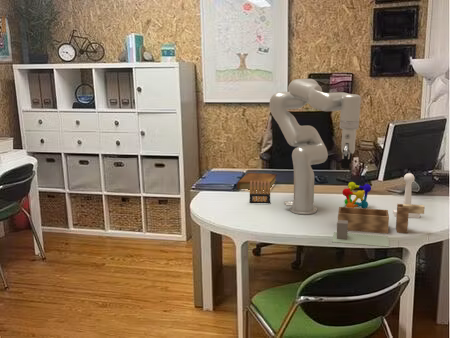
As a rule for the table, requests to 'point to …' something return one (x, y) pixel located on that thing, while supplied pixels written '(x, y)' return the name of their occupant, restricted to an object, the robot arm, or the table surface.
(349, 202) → the molecular model
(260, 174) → the diary
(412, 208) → the key
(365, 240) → the lid
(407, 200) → the joystick
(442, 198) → the table surface
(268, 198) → the ammunition clip
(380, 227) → the brown wooden open box
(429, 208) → the table surface
